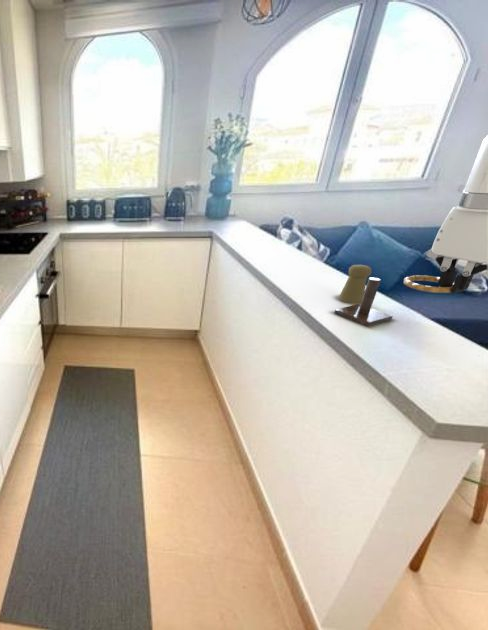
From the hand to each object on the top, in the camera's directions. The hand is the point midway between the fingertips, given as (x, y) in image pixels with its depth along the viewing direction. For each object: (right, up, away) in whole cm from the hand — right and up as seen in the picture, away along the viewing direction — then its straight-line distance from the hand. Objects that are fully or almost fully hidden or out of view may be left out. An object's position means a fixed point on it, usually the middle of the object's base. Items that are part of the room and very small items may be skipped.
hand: (450, 289), depth 74 cm
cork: (+5, -1, +32) cm, 33 cm away
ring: (-1, +2, +3) cm, 4 cm away
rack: (0, -6, +23) cm, 23 cm away
